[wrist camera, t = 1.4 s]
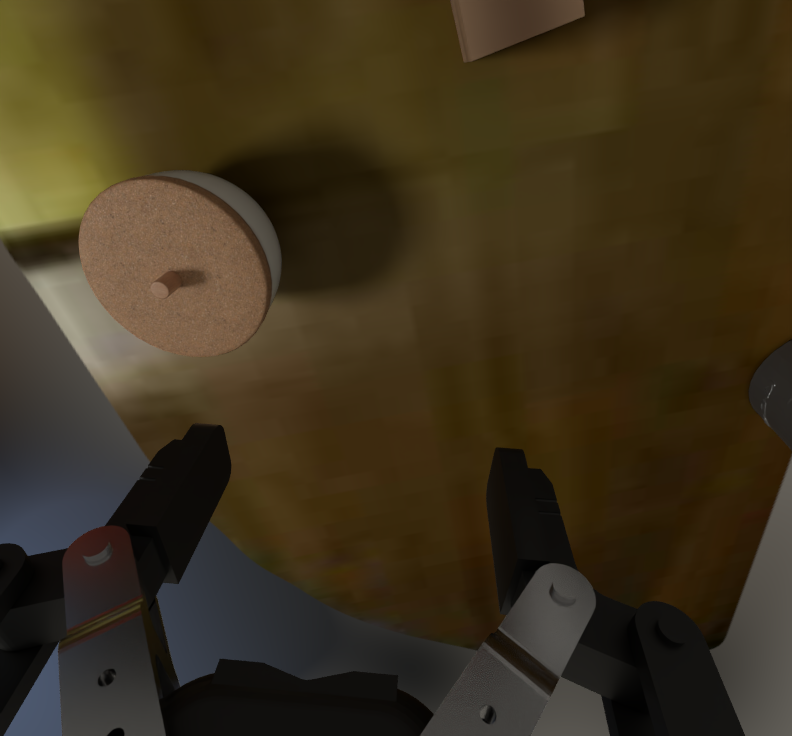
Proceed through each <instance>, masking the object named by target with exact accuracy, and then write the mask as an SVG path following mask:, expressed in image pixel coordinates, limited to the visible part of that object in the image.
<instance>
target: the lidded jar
mask: <svg viewBox="0 0 792 736" xmlns="http://www.w3.org/2000/svg"><path fill="white" fill-rule="evenodd" d="M79 251H80V258H81V262H82V267H83V270H84V273H85V275H86V278H87V280H88V283H89V285H90V286H91V288H92V290H93V292H94V294H95V296H96V297H97V298H98V300H99V301H100V302H101V304H102V305H103V307H104V308H105V309H106V310H107V311H108V312H109V313H110V315H111V316H112V317H113V318H114V319H115V320H116V321H117V322H118V323H120V324H121V325H122V326H123V327H124V328H125V329H127V330H128V331H129V332H131V333H132V334H134V335H135V336H136V337H138V338H139V339H141V340H143V341H145V342H147V343H149V344H150V345H153V346H155V347H157V348H160V349H162V350H164V351H168V352H171V353H175V354H180V355H185V356H194V357H207V356H217V355H220V354H224V353H228V352H230V351H232V350H234V349H237V348H239V347H240V346H242V345H243V344H244V343H246V342H247V341H248V340H249V339H250V338H251V337H252V336H253V335H254V334H255V333H256V332H257V330H258V329H259V327H260V325H261V324H262V322H263V321H264V319H265V317H266V314H267V312H268V310H269V308H270V306H271V304H272V303H273V300H274V298H275V295H276V293H277V290H278V287H279V282H280V277H281V270H282V256H281V248H280V244H279V241H278V237H277V234H276V232H275V229H274V227H273V225H272V223H271V221H270V219H269V218H268V216H267V215H266V213H265V212H264V210H263V209H262V208H261V207H260V206H259V204H258V203H257V202H256V201H255V200H254V199H253V198H252V197H251V196H249V195H248V194H247V193H246V192H244V191H243V190H242V189H240V188H239V187H237V186H236V185H234V184H232V183H230V182H228V181H226V180H224V179H223V178H220V177H217V176H214V175H211V174H208V173H202V172H197V171H188V170H174V171H165V172H159V173H153V174H150V175H146V176H142V177H136V178H130V179H128V180H125V181H122V182H120V183H117V184H114V185H112V186H110V187H109V188H107V189H106V190H104V191H103V192H101V193H100V194H99V195H98V196H97V197H96V198H95V199H94V200H93V201H92V202H91V204H90V205H89V207H88V209H87V210H86V212H85V214H84V217H83V220H82V223H81V226H80V233H79Z"/></svg>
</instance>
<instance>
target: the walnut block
mask: <svg viewBox="0 0 792 736" xmlns="http://www.w3.org/2000/svg"><path fill="white" fill-rule="evenodd" d="M450 1H451V6H452V10H453V15H454V19H455V24H456V29H457V33H458V38H459V42H460V47H461V51H462V56H463V60H464V62H471V61H474V60H476V59H479V58H481V57H484V56H486V55H489V54H491V53H494V52H496V51H499V50H501V49H504V48H506V47H509V46H511V45H514V44H516V43H519V42H521V41H524V40H526V39H529V38H531V37H534V36H536V35H539V34H541V33H544V32H546V31H549V30H551V29H554V28H556V27H559V26H561V25H564V24H566V23H569V22H571V21H574V20H576V19H579V18H581V17H584V16H585V12H584V2H583V0H450Z"/></svg>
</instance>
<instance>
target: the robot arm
mask: <svg viewBox="0 0 792 736" xmlns="http://www.w3.org/2000/svg"><path fill="white" fill-rule="evenodd" d="M749 400H750V403H751V405H752V407H753V409H754V410H755V411H756V412H757V413H758V414H759V415H760V416H761V417H762V419H763V420H764V421H765V423H766V424H767V425H768V426H769V427H771V428H772V429H773V430H774V431H775V432H776V434H777V435H778V436H779V437H780V438H781V439H782V440H783V441H784V442H785V444H786V445H787V446H788V447H789V448H790V449H791V450H792V340H791V341H789V342H787V343H785V344H784V345H783V346H781V347H780V348H778V349H777V350H775V351H774V352H773V353H772V354H771V355H770V356H769V357H768V358H767V359H765V360H764V362H763V363H762V364H761V365H760V367H759V368H758V369H757V371H756V372H755V374H754V376H753V378H752V380H751V383H750V388H749ZM230 474H231V460H230V455H229V450H228V446H227V441H226V437H225V432H224V429H223V427H222V426H221V425H212V424H199V423H195V424H193V425H192V426H191V427H190V429H189V430H188V432H187V433H186V435H185V436H184V438H183V439H182V440H176V439H174V440H173V441H171V442H170V443H169V444H167V445H166V446H165V447H163V448H162V449H161V450H159V451H158V452H157V454H156V455H155V457H154V458H153V459H152V461H151V462H150V464H149V465H148V468H147V469H145V471H144V472H143V474H142V475H141V476H140V480H138V481H137V482H136V483H135V485H134V486H133V487H132V489H131V490H130V492H129V493H128V495H127V496H126V497H125V499H124V500H123V501H122V503H121V504H120V506H119V507H118V508H117V510H116V512H115V513H114V514H113V516H112V517H111V518H110V520H109V521H108V523H107V524H106V525H105V526H103V527H99V528H96V529H93V530H91V531H88V532H87V533H85V534H83V535H82V536H81V537H79V538H78V539H77V540H75V541H74V542H73V543H72V544H71V545H70V546H69V548H66V549H63V550H57V551H52V552H46V553H41V554H36V555H31V556H27V554H26V553H25V551H24V550H23V549H22V547H20V546H19V545H16V544H10V543H8V544H0V736H4V734H5V732H6V730H7V729H8V727H9V725H10V724H11V722H12V720H13V719H14V717H15V715H16V713H17V712H18V710H19V708H20V707H21V705H22V703H23V702H24V700H25V698H26V697H27V695H28V693H29V691H30V690H31V688H32V686H33V685H34V683H35V681H36V680H37V678H38V676H39V674H40V673H41V671H42V669H43V668H44V666H45V664H46V663H47V661H48V659H49V658H50V656H51V654H52V652H53V650H54V649H55V647H56V646H57V644H58V642H59V646H58V660H59V680H60V701H61V721H62V736H531V734H532V732H533V730H534V727H535V726H536V724H537V722H538V720H539V718H540V716H541V714H542V712H543V710H544V708H545V706H546V704H547V702H548V700H549V698H550V696H551V694H552V693H553V691H554V689H555V686H556V684H557V682H558V680H559V678H560V676H561V677H563V678H565V679H568V680H569V681H572V682H574V683H576V684H578V685H581V686H583V687H585V688H587V689H589V690H591V691H594V692H596V693H598V694H600V695H601V696H602V701H603V705H604V710H605V714H606V720H607V724H608V728H609V733H610V736H745V734H744V732H743V729H742V727H741V725H740V722H739V720H738V718H737V715H736V713H735V710H734V708H733V706H732V703H731V701H730V698H729V696H728V694H727V691H726V689H725V686H724V684H723V682H722V679H721V677H720V675H719V672H718V670H717V667H716V665H715V663H714V660H713V658H712V656H711V653H710V651H709V648H708V646H707V643H706V641H705V639H704V637H703V635H702V633H701V631H700V630H699V628H698V627H697V625H696V624H695V623H694V622H693V621H692V620H691V619H690V618H689V617H688V616H687V615H686V614H685V613H683V612H682V611H680V610H679V609H677V608H676V607H674V606H672V605H669V604H666V603H663V602H657V601H651V602H647V603H644V604H642V605H641V606H640V607H639V608H638V609H635V608H633V607H630V606H628V605H625V604H623V603H620V602H618V601H615V600H612V599H610V598H608V597H606V596H604V595H602V594H600V593H598V592H597V591H596V590H594V589H593V588H592V586H591V585H590V583H589V582H588V581H587V579H586V578H585V577H584V576H583V575H582V574H581V573H579V571H578V570H577V567H576V565H575V561H574V558H573V555H572V551H571V548H570V544H569V541H568V537H567V534H566V530H565V527H564V523H563V520H562V516H560V509H559V506H558V503H557V499H556V495H555V492H554V489H553V485H552V483H551V482H550V480H549V479H548V478H547V477H546V475H545V474H544V473H543V471H542V470H541V469H531V468H528V467H527V462H526V458H525V454H524V451H523V450H522V449H510V448H496V449H495V452H494V456H493V461H492V465H491V470H490V474H489V479H488V484H487V493H486V502H487V511H488V519H489V528H490V536H491V544H492V552H493V560H494V568H495V576H496V584H497V592H498V600H499V608H500V614H505V615H507V616H506V617H505V619H504V620H503V622H502V623H501V625H500V626H499V628H498V629H497V631H496V632H495V633H494V634H493V633H491V634H490V635H489V636H488V637H487V638H486V640H485V641H484V642H483V644H482V645H481V647H480V648H479V650H478V651H477V652H476V654H475V655H474V657H473V658H472V660H471V661H470V663H469V664H468V666H467V667H466V669H465V670H464V672H463V673H462V675H461V676H460V678H459V679H458V681H457V682H456V683H455V685H454V686H453V688H452V689H451V691H450V692H449V694H448V695H447V696H446V698H445V699H444V701H443V702H442V704H441V705H440V707H439V708H438V710H437V711H436V713H435V714H433V713H432V712H431V711H430V710H429V709H428V708H427V707H426V706H425V705H424V704H422V703H421V702H420V701H419V700H417V699H416V698H414V697H413V696H411V695H409V694H408V693H406V692H404V691H401V690H399V689H397V683H398V675H388V674H376V673H366V672H356V671H353V672H348V673H343V674H338V675H332V676H327V677H322V678H318V679H312V680H303V679H300V678H298V677H295V676H293V675H291V674H288V673H286V672H284V671H281V670H279V669H277V668H274V667H272V666H270V665H267V664H265V663H259V662H249V661H239V660H228V659H220V660H219V663H218V665H217V668H216V671H215V673H213V674H209V675H206V676H203V677H199V678H197V679H195V680H193V681H190V682H189V683H186V684H185V685H183V686H181V687H180V684H179V680H178V677H177V674H176V672H175V669H174V665H173V662H172V658H171V654H170V650H169V646H168V641H167V637H166V633H165V629H164V624H163V620H162V616H161V612H160V607H159V603H158V599H157V596H156V595H157V593H158V591H159V589H160V587H161V585H162V583H174V584H179V582H180V580H181V578H182V576H183V573H184V572H185V569H186V567H187V565H188V563H189V561H190V559H191V557H192V555H193V553H194V551H195V549H196V547H197V545H198V543H199V541H200V539H201V537H202V535H203V533H204V530H205V529H206V527H207V525H208V523H209V521H210V519H211V517H212V514H213V512H214V510H215V508H216V506H217V504H218V502H219V500H220V498H221V496H222V494H223V492H224V490H225V488H226V486H227V484H228V481H229V478H230Z"/></svg>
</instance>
